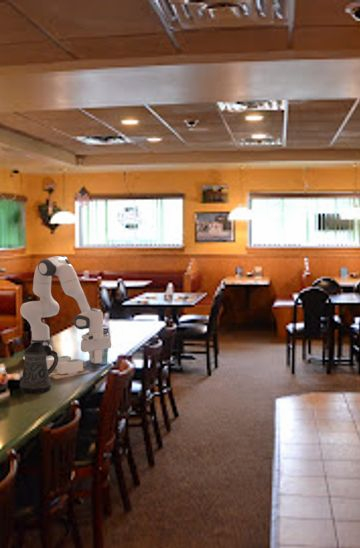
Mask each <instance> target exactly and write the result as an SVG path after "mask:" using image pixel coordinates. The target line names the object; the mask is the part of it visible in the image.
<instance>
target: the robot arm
mask: <svg viewBox="0 0 360 548" xmlns="http://www.w3.org/2000/svg"><path fill="white" fill-rule="evenodd" d="M70 263H71V262H70V260H69V258H68V257H67V256H66V255H58V256H57V255H56V256H51V257H48V258H45V259H42V260H40V261H39V262H38V264H37V265H36V267H35V271H34V274H33V283H32V284H33V285H32V292H33V294H34V295H36V296H37V297H38V298H39V300H32V301H27V302H24V303H22V304H21V306H20V309H19V312H20V315H21V317H22V318H23V319H25V320H26V321H27V322H28V324H29V325H30V329H31V339H30V345H31V344H32V343H42V345H48V346H49V347H50V348H51V350H53V346H52V345H51V338H50V327H49V325H48V324H46V323H45V322H42V318H51V317H54V316H56V315H58V314H59V311H60V305H59V303H58V302H57V301H56V300H55V299H54V297H53V296H52V292H51V291H52V290H51V289H52V278H53V277H54V276H56V277H57V278H58V280H59V282H60V286H61V288H62V291H63V292H64V293H65V295H66V296H69V297H72V298H73V299H75V301H76V303H77V305H78V307H79V310H80V311H81V312H80V313H79V314H77V315H75V317H74V319H73V325H74V327H75V328H76V329H77V330H85V329H88V332H86V333H84V334H82V335H81V341H80V351H81V352H83V353H88V354H90V358H94V355H92V351H94V350H100V349H102V356H103V352H104V349H111V347H112V339H111V335H110V333H109V332H108V333H107V334H103V327H104V326H103V325H104V315H103V314H104V313H103V311H102V310H101V309H99V308H95V307H94V308H92V307H91V305H90V304H89V301H88V298H87V296H86V294H85V293H86V292H84V290H83V287H82V286H81V285H82V284H81V283H80V280H79V277H78V274H77V272H76V270H75V268H74V267H73V265H72V264H70ZM48 358H54V357H53V356H46V359H48ZM22 360H24V361H25V356H23V357H22Z"/></svg>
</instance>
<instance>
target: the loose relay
mask: <svg viewBox="0 0 360 548" xmlns="http://www.w3.org/2000/svg"><path fill="white" fill-rule="evenodd" d="M87 363H88V362H87V361H85V360H84V361H83V368H86V367H87V366H88V364H87Z"/></svg>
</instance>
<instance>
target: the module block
mask: <svg viewBox="0 0 360 548" xmlns="http://www.w3.org/2000/svg"><path fill="white" fill-rule="evenodd" d="M92 355H94V358H91V360H90V363H93V364H98V363H101V362H102V349H100V350H94V351H92Z"/></svg>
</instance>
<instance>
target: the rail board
mask: <svg viewBox="0 0 360 548" xmlns="http://www.w3.org/2000/svg"><path fill="white" fill-rule="evenodd" d="M46 361H47V368H48V369H49V368H50V367H51V366H52V364H53V362H54V358H48V359H46ZM85 374H90V370H87V369H84V367H83V360H82V359H80V358H79V359H78V358H76V359H74V358H73V359H72V357H71V356H69V355H60V356H58V364H57V366H56V368H55V369H54V370H53V372H52V373H51V374H50V375H49V378H52V379H55V380H59V379H64V378H69V377H75V375H76V376H81V375H85Z"/></svg>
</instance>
